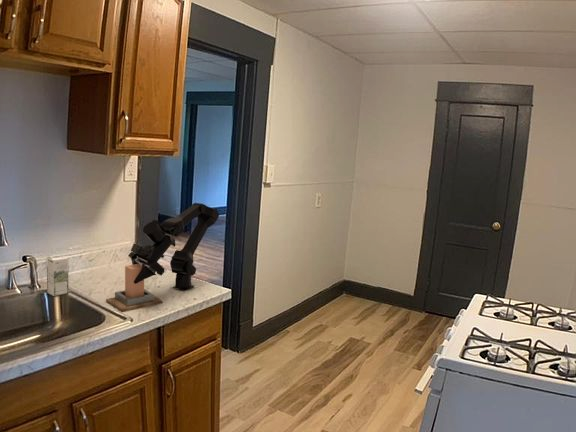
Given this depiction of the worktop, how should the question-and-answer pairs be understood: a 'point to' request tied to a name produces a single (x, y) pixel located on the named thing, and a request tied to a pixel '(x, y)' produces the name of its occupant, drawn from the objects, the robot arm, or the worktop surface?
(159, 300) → the collar board
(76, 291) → the worktop surface
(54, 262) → the syrup box
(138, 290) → the terracotta block
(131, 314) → the worktop surface
